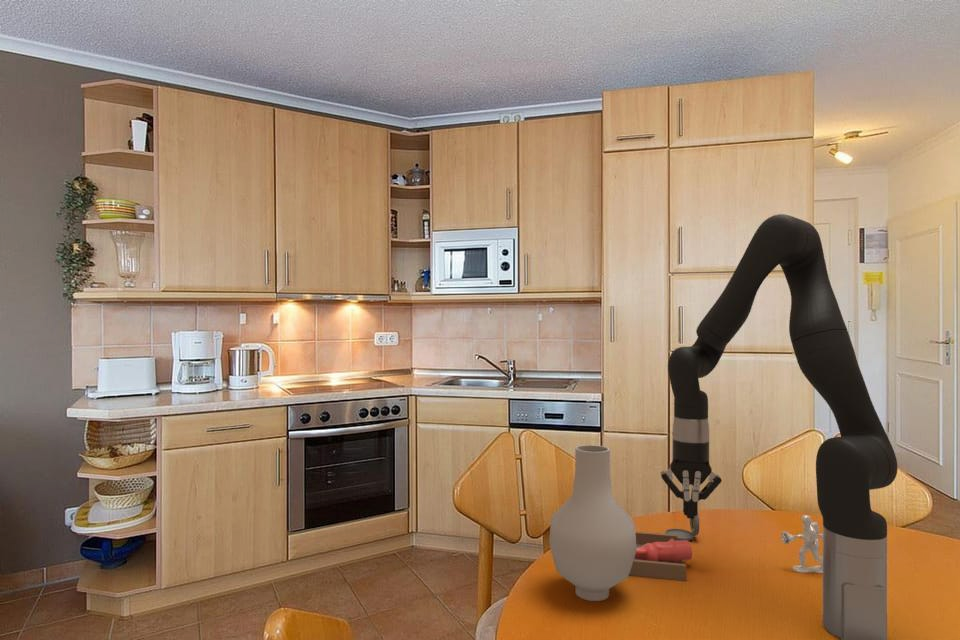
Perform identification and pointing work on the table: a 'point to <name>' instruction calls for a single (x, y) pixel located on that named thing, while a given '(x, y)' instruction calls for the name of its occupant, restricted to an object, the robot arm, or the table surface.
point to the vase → (592, 529)
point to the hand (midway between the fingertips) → (690, 517)
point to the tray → (657, 567)
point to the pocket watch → (684, 533)
